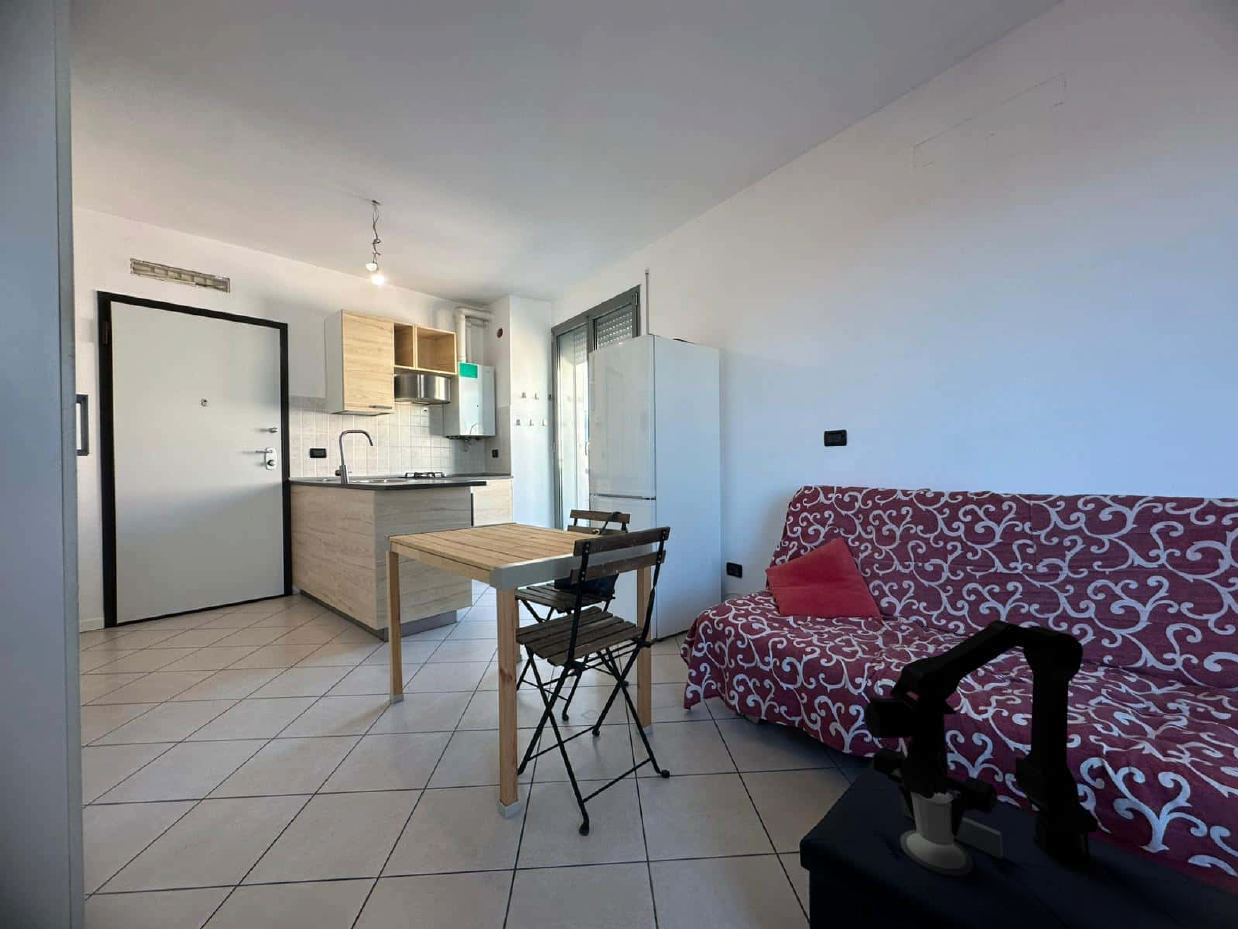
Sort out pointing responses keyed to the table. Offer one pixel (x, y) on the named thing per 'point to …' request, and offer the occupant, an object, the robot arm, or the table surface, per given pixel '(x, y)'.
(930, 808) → the shot glass
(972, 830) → the low wall
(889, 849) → the table surface
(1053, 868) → the table surface
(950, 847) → the grey round disc
